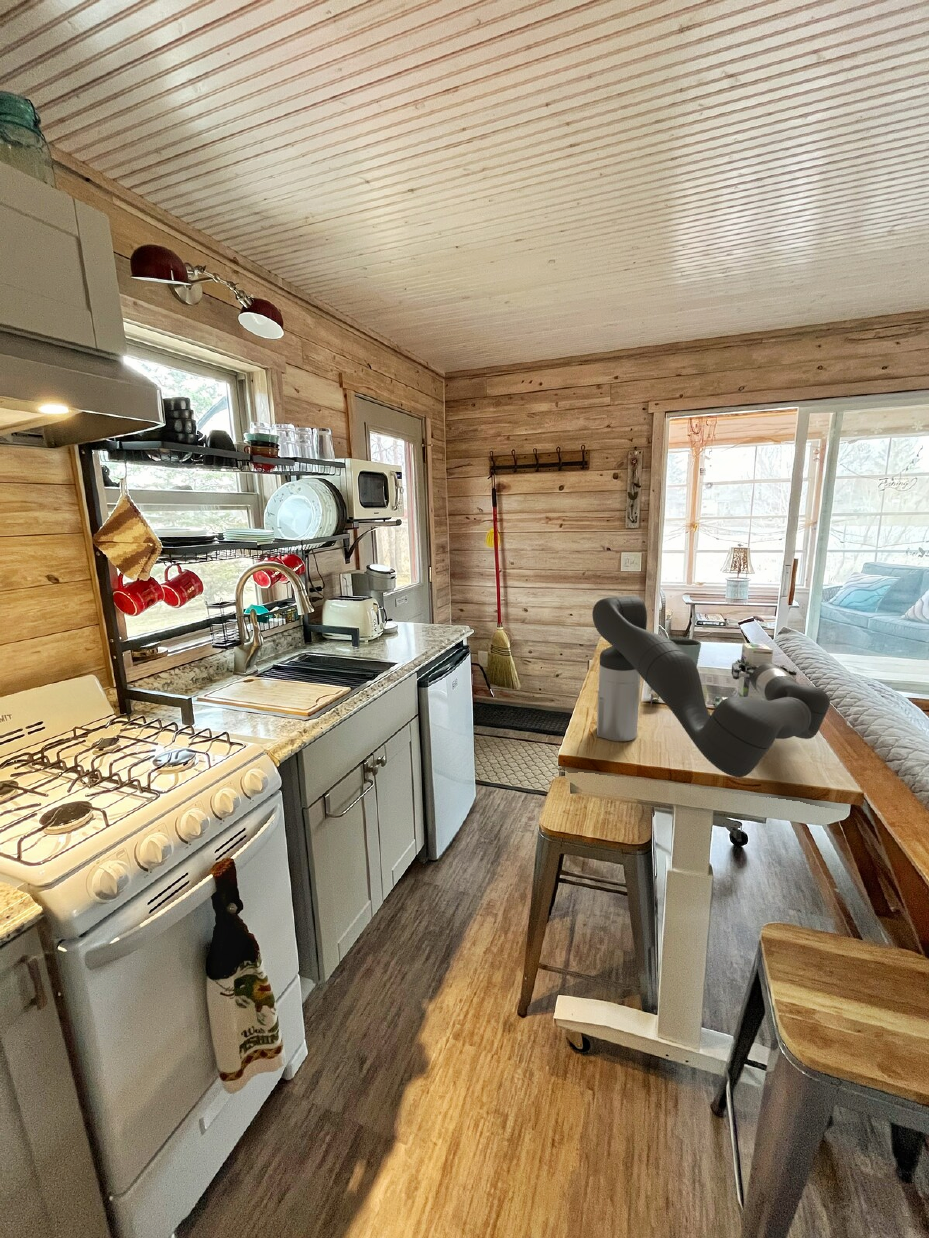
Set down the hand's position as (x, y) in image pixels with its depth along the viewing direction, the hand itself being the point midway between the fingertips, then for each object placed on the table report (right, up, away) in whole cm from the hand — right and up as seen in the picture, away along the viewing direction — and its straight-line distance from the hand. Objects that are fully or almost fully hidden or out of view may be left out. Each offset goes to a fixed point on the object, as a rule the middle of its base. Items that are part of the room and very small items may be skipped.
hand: (752, 663), depth 135 cm
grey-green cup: (-6, -7, +30) cm, 31 cm away
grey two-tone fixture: (-21, -12, +10) cm, 27 cm away
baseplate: (-1, -13, +1) cm, 13 cm away
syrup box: (0, -10, -1) cm, 10 cm away
